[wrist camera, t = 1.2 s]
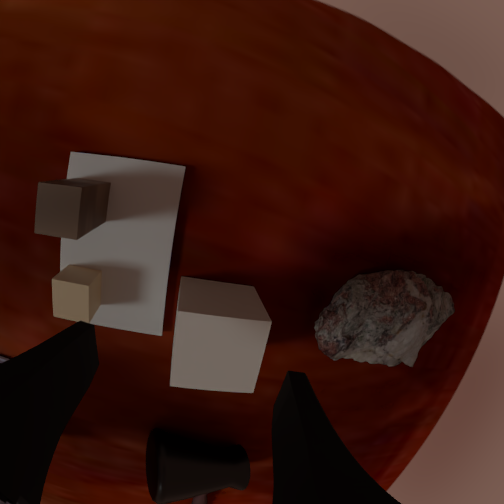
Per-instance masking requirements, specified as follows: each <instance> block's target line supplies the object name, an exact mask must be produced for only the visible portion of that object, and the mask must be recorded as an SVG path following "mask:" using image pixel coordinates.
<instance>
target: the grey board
mask: <svg viewBox="0 0 504 504" xmlns="http://www.w3.org/2000/svg"><path fill="white" fill-rule="evenodd" d="M185 168H186V167H185V166H179V165H173V164H166V163H159V162H153V161H145V160H138V159H131V158H123V157H115V156H106V155H97V154H88V153H78V152H71V155H70V161H69V167H68V174H67V179H72V178H79V179H87V180H95V181H103V182H111V186H110V193H109V200H108V208H107V216H106V222H105V223H103V224H101V225H100V226H98V227H97V228H95V229H93V230H92V231H90V232H89V233H87V234H86V235H84V236H82V237H81V238H79V239H78V240H73V239H67V238H61V258H60V272H59V273H58V274H57V275H56V276H55V277H54V278H52V295H53V315H54V316H55V317H59V318H63V319H68V320H72V321H77V322H79V321H84V322H87V323H91V324H96V325H101V326H106V327H111V328H117V329H122V330H128V331H134V332H140V333H146V334H153V335H159V336H162V330H163V319H164V309H165V300H166V291H167V283H168V275H169V267H170V260H171V252H172V245H173V239H174V232H175V226H176V219H177V213H178V207H179V201H180V195H181V190H182V184H183V179H184V173H185Z"/></svg>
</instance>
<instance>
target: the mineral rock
mask: <svg viewBox="0 0 504 504" xmlns="http://www.w3.org/2000/svg"><path fill="white" fill-rule="evenodd" d="M443 291H444V290H443V289H442V286H436V285H435V283H434V282H433V281H432V280H431V279H429V278H426V275H423V274H416V272H414V271H404V270H403V269H402V270H395V271H393V270H391V271H390V270H386V271H380V272H377V273H371V274H366V273H365V274H362V275H361V274H359V275H357V276H356V277H354V278H352V279H350V280H348V281H347V283H346V284H345V285H343V286H342V287H341V288H340V290H339V291H338V292H337V293H335V294H334V297H333V299H332V301H331V303H330V304H329V306H328V307H327V308H324V310H323V311H321V313H320V315H319V319H318V320H317V321H315V322H314V323H315V328H314V329H315V331H316V333H315V337H316V339H317V342H318V346H319V350H321V351H322V352H323V353H324V354H325V355H327V356H328V357H329V358H331V359H333V360H338V359H340V358H342V357H343V358H345V359H350V358H353V359H354V360H355V361H359V362H365V361H367V362H368V363H370V364H376V363H380V364H384V365H388V366H396V365H398V364H400V363H401V362H404V364H406V365H408V366H410V367H413V364H414V362H415V361H416V358H417V355H418V351H419V350H420V348H421V347H422V346H423V345H424V344H425V343H426V342H427V341H428V340H429V339H430V338H431V337H432V336H433V334H434V332H435V331H437V330H438V329H439V328H440V326H441V324H442V323H443V322H445V321H446V320H447V318H448V317H449V316H450V315H452V314H453V313H454V311H455V309H454V303H453V300H452V297H451V295H450V294H449V293H447V292H443Z"/></svg>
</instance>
